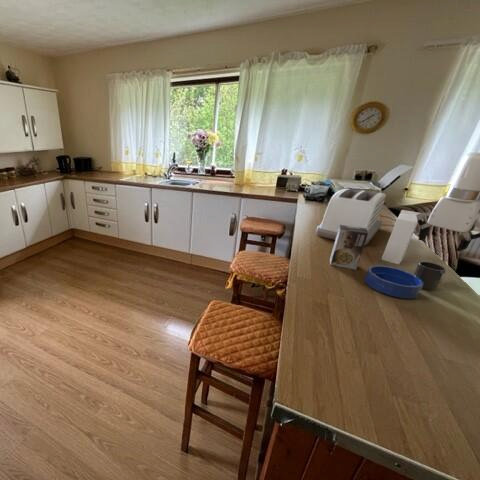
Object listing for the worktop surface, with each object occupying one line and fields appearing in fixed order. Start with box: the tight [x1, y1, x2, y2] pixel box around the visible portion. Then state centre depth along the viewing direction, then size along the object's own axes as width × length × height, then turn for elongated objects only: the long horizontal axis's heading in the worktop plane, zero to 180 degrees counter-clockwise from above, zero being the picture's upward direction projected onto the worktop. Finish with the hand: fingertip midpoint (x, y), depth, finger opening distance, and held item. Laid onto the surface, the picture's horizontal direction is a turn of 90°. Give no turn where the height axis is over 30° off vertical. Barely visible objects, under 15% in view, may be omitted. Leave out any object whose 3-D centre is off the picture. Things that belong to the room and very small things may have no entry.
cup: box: [412, 261, 447, 292], centre depth 91 cm, size 7×7×8 cm
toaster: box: [315, 188, 387, 246], centre depth 139 cm, size 23×45×22 cm, turn 133°
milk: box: [380, 209, 421, 265], centre depth 106 cm, size 6×6×22 cm
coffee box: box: [329, 225, 368, 271], centre depth 103 cm, size 9×6×16 cm
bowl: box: [364, 265, 424, 300], centre depth 90 cm, size 15×15×5 cm
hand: (439, 244), depth 86 cm, fingers open, 9 cm apart
